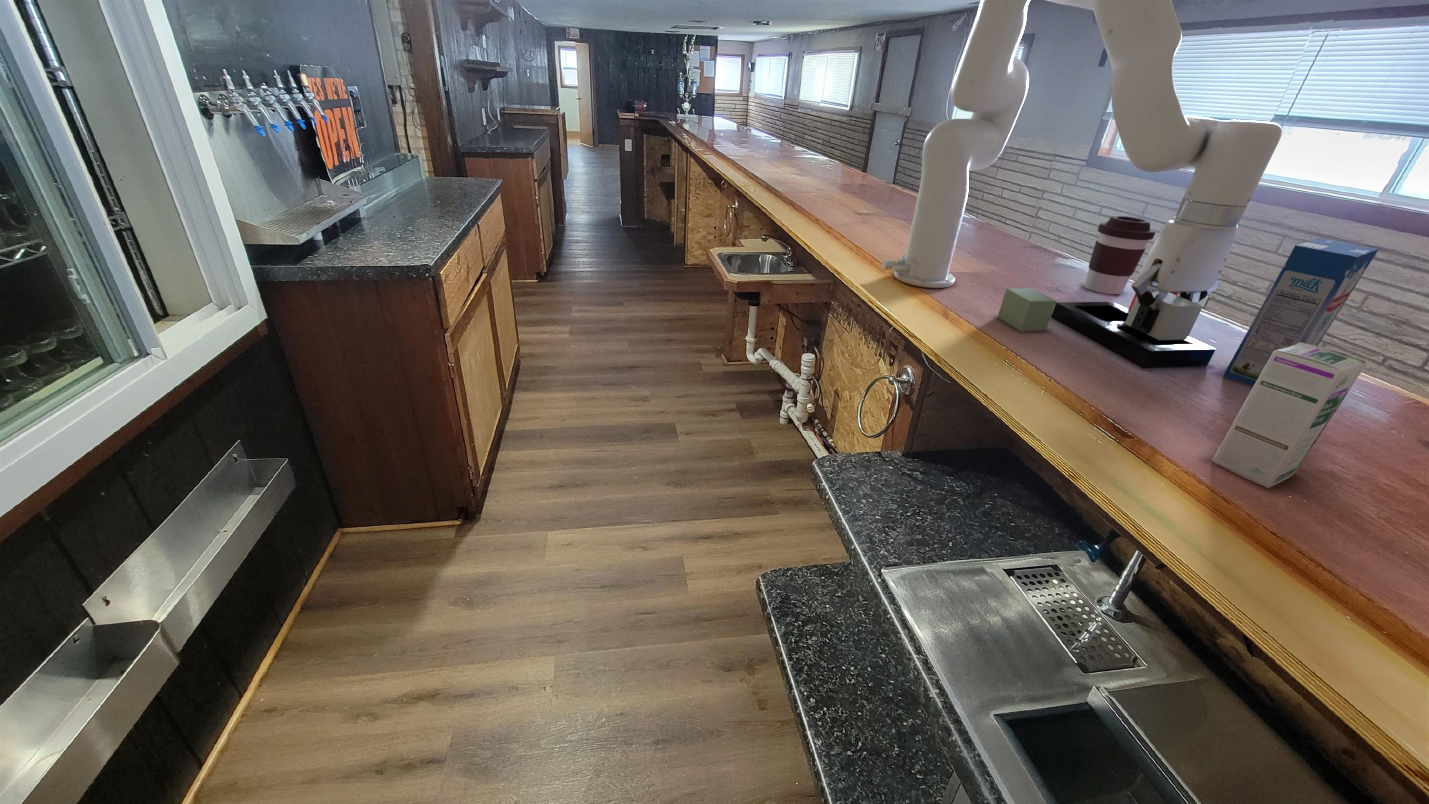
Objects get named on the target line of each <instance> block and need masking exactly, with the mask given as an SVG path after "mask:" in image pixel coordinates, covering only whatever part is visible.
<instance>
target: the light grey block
mask: <svg viewBox="0 0 1429 804" xmlns="http://www.w3.org/2000/svg"><path fill="white" fill-rule="evenodd" d="M1157 293H1158V292H1157V291H1154V293H1153V294H1152V295H1153V297H1154V298H1155V296H1156V295H1157ZM1138 300H1139V299H1138V297H1136V299H1135V301H1134V304H1133V306H1132V308H1131V311H1130V313H1129V315H1128V317H1127V320H1126V322H1125V324H1127V325H1129V326H1131V325H1132V322H1133V320H1134V318H1135V315H1136V313H1137V311H1138V308H1139V306H1140V304H1139V303H1138ZM1203 307H1204V305H1202V304H1200V303H1198V304H1197V303H1194V302H1192V301H1189V300H1187V299H1184V298H1182V297H1179V296H1177V295H1174V294H1171V293H1168V294H1167V295H1166V297H1165V298H1164V300H1163V301H1162V302H1161V304H1160V305H1159V307H1158V308H1157V309H1158V310H1160V311H1159V314H1158V316H1157V318H1156V320H1155V322H1154V325H1153V327H1152V329H1151V331H1150V333H1146V334H1148V335H1150V336H1152V337H1154V338H1156V339H1158V340H1183V339H1187V338H1188V336H1189V335H1190V334H1191V332H1192V330H1193V327H1194V325H1195V323H1196V321H1197V320H1198V317H1199V315H1200V313H1201V311H1202V309H1203ZM1131 327H1132V326H1131ZM1189 337H1190V336H1189Z"/></svg>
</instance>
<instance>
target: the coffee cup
mask: <svg viewBox="0 0 1429 804" xmlns="http://www.w3.org/2000/svg"><path fill="white" fill-rule="evenodd" d="M1097 232H1098V233H1099V234H1098V238H1097V240H1096V241H1095V244H1094V247H1093V250H1092V254H1091V257H1090V260H1089V264H1088V271H1087V274H1086V277H1085V280H1084V285H1083V286H1084V288H1086V289H1087V290H1089V291H1091V292H1095V293H1099V294H1104V295H1120V294H1122V293H1123V292H1124V290H1125V288H1126V286H1127V284H1128V283H1129V279H1130V278H1131V277H1132V275H1134V273H1135V271H1136V269H1137V267H1138V265H1139V263H1140V261H1141V259H1142V257H1143V255H1144V253H1145V251H1146V247H1147V245H1148V242H1149V241H1151V240H1153V239H1154V238H1155V235H1156V233H1157V231H1156V230H1155V229H1153V228H1152V227H1151V221H1149V220H1147V219H1144V218H1140V217H1134V216H1128V215H1127V216H1126V215H1112V216H1111V217H1110V218H1109V219H1108V220H1107V221H1103V222H1102V221H1101V222H1100V223H1099V225H1098V227H1097Z"/></svg>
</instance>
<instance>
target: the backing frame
mask: <svg viewBox="0 0 1429 804" xmlns="http://www.w3.org/2000/svg"><path fill="white" fill-rule="evenodd" d="M1130 311H1131V310H1129V308H1128V307H1125V306H1123V305H1120V304H1118V303H1116V302H1115V301H1056V304H1055V307H1054V309H1053V312H1052V315H1051V318H1050V319H1053V320H1055V321H1057V322H1058V323H1060V324H1062V325H1064V326H1065V327H1067V328H1069V329H1071V330H1073V331H1074V332H1076V333H1078V334H1080V335H1081V336H1083V337H1085V338H1087V339H1088V340H1090V341H1093V342H1095V343H1096V344H1098V345H1099V346H1101V347H1103V348H1105V349H1107V350H1109V351H1110V352H1112V353H1114V354H1116V355H1118V356H1119V357H1121V358H1123V359H1125V360H1127V361H1128V362H1130V363H1132V364H1134V365H1136V366H1137V367H1140V368H1141V369H1158V368H1159V369H1161V368H1162V369H1163V368H1164V369H1165V368H1186V367H1187V368H1188V367H1190V368H1191V367H1208V365H1209V364H1210V362H1211V359H1212V358H1213V356H1214V354H1215V352H1216V350H1217V348H1215V347H1213V346H1211V345H1209V344H1206V343H1204V342H1202V341H1199V340H1197V339H1195V338H1193V337H1191V336H1188V338H1187V339H1183V340H1158V339H1156V338H1154V337H1152V336H1150V335H1148V334H1146V333H1143V332H1141V331H1139V330H1137V329H1135V328H1133V327H1131V326H1129V325H1127V324H1125V322H1126V320H1127V317H1128V315H1129V313H1130Z"/></svg>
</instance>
